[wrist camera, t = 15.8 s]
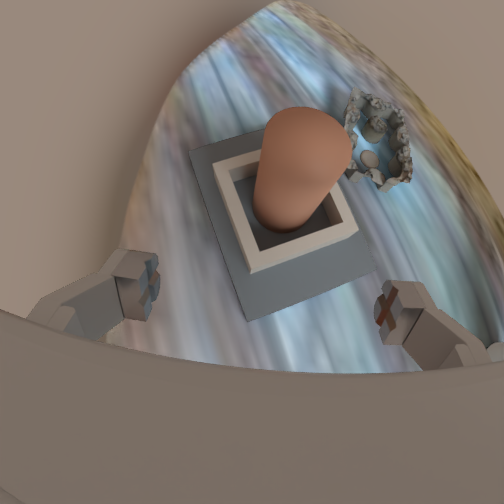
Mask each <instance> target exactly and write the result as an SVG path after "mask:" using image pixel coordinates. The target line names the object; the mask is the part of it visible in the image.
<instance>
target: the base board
mask: <svg viewBox="0 0 504 504" xmlns="http://www.w3.org/2000/svg"><path fill="white" fill-rule="evenodd" d="M264 132H265V129H262V130H258V131H254V132H251V133H247V134H243V135H240V136H236V137H233V138H229V139H226V140H222V141H219V142H216V143H213V144H209V145H206V146H203V147H200V148H197V149H194V150H191V151H188V153H189V157H190V160H191V163H192V166H193V169H194V172H195V175H196V178H197V181H198V184H199V187H200V190H201V193H202V196H203V199H204V202H205V205H206V208H207V211H208V214H209V217H210V219H211V222H212V225H213V228H214V231H215V234H216V237H217V240H218V242H219V245H220V248H221V251H222V254H223V257H224V259H225V262H226V265H227V268H228V271H229V273H230V276H231V279H232V282H233V284H234V287H235V290H236V293H237V295H238V298H239V301H240V303H241V306H242V309H243V312H244V314H245V317H246V320H247V322H249V321H252V320H255V319H258V318H260V317H263V316H266V315H268V314H271V313H274V312H276V311H279V310H281V309H284V308H286V307H289V306H292V305H294V304H297V303H299V302H302V301H304V300H307V299H309V298H312V297H314V296H317V295H319V294H321V293H324V292H326V291H329V290H331V289H333V288H336V287H338V286H340V285H343V284H345V283H347V282H350V281H352V280H354V279H357V278H359V277H361V276H363V275H366V274H368V273H370V272H372V271H375V270H377V267H376V265H375V262H374V260H373V257H372V255H371V252H370V250H369V247H368V245H367V243H366V240H365V238H364V235H363V233H362V231H361V228H360V226H359V224H358V222H357V219H356V217H355V215H354V213H353V210H352V208H351V206H350V204H349V202H348V200H347V197H346V195H345V193H344V191H343V189H342V187H341V185H340V183H339V181H337V182H336V183H335V185H334V186H333V187H332V189H331V190H330V191H329V193H328V194H327V195H326V196H325V198H324V199H323V200H322V202H321V203H320V204H319V206H318V207H317V208H316V210H315V211H314V212H313V214H312V215H311V216H310V218H309V219H308V220H307V222H306V223H305V224H304V225H303V226H302V227H301V228H300V229H298V230H296V231H294V232H291V233H284V234H282V233H275V232H272V231H270V230H268V229H266V228H265V227H263V226H262V225H261V224H260V223H259V222H258V220H257V219H256V217H255V215H254V212H253V207H252V201H253V195H254V189H255V183H256V178H257V172H258V166H259V160H260V154H261V148H262V143H263V137H264Z"/></svg>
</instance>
